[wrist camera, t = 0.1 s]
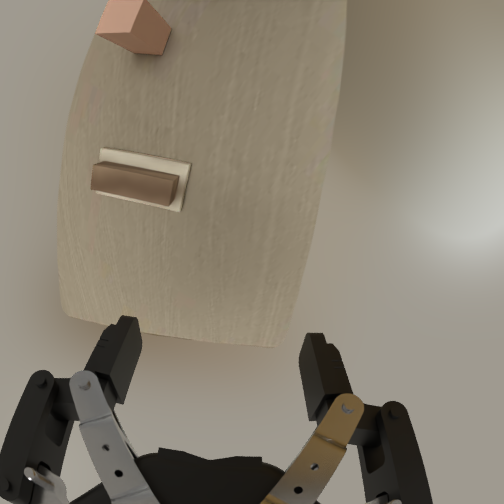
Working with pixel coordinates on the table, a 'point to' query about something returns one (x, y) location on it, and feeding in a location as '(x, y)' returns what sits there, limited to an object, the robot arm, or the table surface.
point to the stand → (141, 178)
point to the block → (134, 26)
